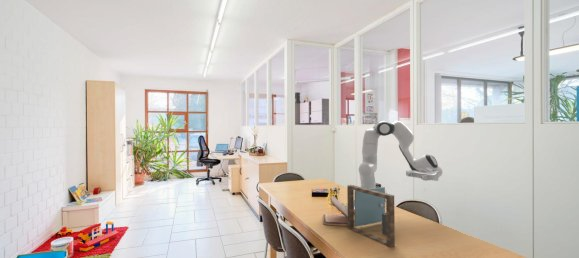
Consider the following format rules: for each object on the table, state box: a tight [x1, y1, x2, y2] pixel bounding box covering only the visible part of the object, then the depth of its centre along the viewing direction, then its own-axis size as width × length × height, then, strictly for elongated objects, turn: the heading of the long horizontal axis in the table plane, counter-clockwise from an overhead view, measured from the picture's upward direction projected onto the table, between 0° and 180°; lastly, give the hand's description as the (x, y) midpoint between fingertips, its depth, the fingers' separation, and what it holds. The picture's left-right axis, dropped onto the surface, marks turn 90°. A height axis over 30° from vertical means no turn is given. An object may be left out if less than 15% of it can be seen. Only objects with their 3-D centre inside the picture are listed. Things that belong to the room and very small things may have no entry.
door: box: [354, 186, 386, 228], centre depth 174 cm, size 24×3×23 cm, turn 113°
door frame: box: [346, 184, 396, 248], centre depth 158 cm, size 32×3×28 cm, turn 33°
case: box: [322, 195, 355, 227], centre depth 185 cm, size 20×21×16 cm
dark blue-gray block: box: [381, 212, 395, 236], centre depth 162 cm, size 4×6×12 cm
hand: (414, 176), depth 179 cm, fingers open, 8 cm apart
